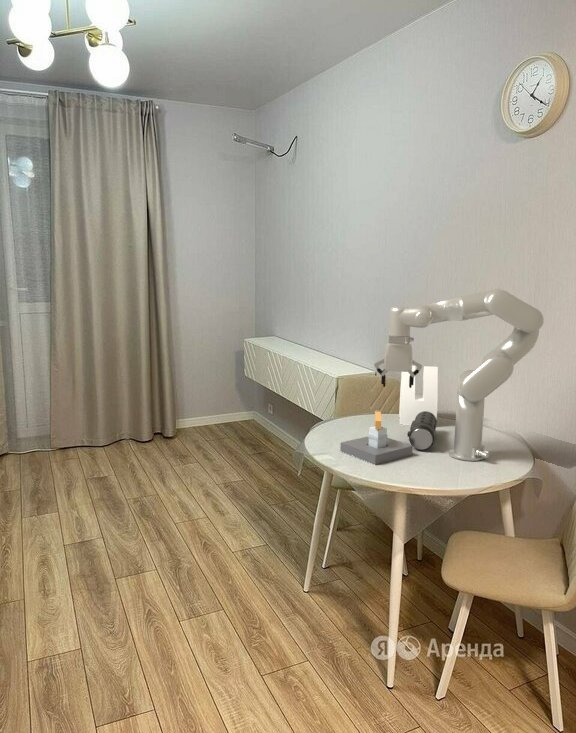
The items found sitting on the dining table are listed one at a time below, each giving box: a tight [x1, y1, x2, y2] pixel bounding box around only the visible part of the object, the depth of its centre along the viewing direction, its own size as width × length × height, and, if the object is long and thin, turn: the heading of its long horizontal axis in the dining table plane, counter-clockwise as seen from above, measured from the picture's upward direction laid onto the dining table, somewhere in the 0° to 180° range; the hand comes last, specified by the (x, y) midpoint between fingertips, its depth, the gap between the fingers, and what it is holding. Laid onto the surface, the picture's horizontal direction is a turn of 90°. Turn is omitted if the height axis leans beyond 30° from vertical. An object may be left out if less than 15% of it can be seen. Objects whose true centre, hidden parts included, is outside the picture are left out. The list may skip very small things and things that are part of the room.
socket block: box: [339, 436, 414, 466], centre depth 211 cm, size 18×19×4 cm
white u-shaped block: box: [398, 365, 439, 426], centre depth 256 cm, size 19×15×25 cm
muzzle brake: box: [406, 411, 438, 451], centre depth 226 cm, size 10×28×10 cm
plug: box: [367, 426, 389, 449], centre depth 209 cm, size 5×5×10 cm
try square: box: [373, 410, 382, 429], centre depth 213 cm, size 16×2×10 cm, turn 172°
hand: (397, 386), depth 211 cm, fingers open, 9 cm apart
